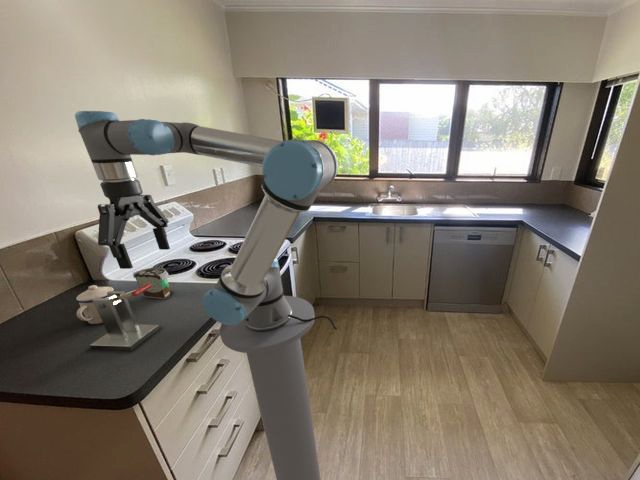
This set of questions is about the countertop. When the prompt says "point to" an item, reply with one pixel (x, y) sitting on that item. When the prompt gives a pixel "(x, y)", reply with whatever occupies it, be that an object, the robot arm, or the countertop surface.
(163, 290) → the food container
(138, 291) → the lever
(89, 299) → the teacup with lid
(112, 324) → the bracket
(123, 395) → the countertop surface
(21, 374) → the countertop surface
